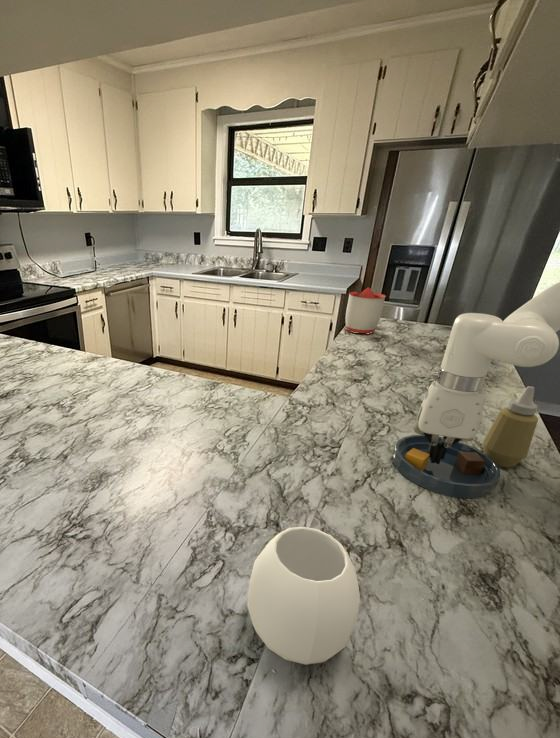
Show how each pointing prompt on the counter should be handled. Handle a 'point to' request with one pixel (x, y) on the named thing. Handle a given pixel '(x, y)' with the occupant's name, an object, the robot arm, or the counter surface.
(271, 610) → the cup
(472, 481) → the plate
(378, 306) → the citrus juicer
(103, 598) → the counter surface
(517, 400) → the squeeze bottle
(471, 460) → the walnut block
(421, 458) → the mustard block
